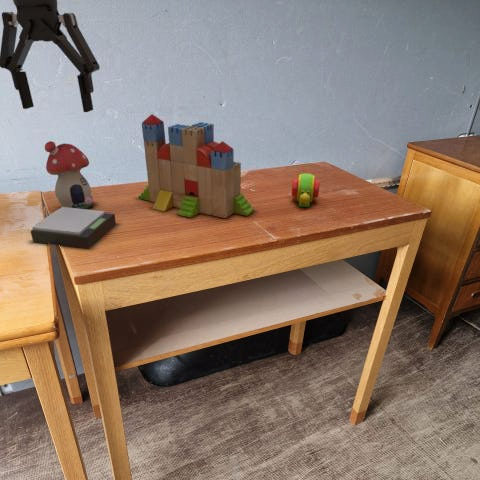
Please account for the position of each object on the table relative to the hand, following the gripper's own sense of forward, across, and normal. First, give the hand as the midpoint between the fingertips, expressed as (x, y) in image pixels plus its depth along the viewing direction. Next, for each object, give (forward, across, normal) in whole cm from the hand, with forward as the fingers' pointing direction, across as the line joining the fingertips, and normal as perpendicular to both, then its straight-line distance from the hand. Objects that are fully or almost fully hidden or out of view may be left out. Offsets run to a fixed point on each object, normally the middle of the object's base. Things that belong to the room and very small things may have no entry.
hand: (58, 109), depth 91 cm
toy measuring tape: (+21, -51, -20) cm, 59 cm away
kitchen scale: (+21, -7, +14) cm, 26 cm away
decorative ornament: (+21, 0, +1) cm, 21 cm away
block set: (+21, -26, -7) cm, 34 cm away
